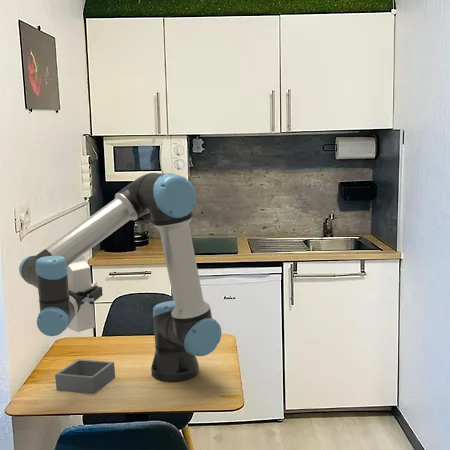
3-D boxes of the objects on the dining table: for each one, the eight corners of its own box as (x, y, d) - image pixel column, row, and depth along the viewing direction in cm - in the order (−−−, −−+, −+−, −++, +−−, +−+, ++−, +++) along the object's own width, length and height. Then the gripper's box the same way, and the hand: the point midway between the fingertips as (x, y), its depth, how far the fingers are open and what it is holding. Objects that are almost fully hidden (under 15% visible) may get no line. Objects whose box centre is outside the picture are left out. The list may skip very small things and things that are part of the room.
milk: (95, 327, 190) (90, 256, 187) (77, 332, 186) (71, 260, 183) (85, 323, 194) (79, 254, 191) (67, 328, 190) (61, 257, 187)
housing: (115, 377, 197) (114, 362, 196) (94, 394, 185) (92, 378, 184) (79, 373, 201) (78, 359, 200) (56, 390, 189) (55, 374, 188)
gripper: (27, 322, 170) (48, 299, 193) (104, 317, 171) (116, 296, 193) (24, 295, 169) (45, 276, 192) (102, 291, 170) (114, 272, 192)
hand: (81, 286), depth 192 cm, fingers closed on milk, 8 cm apart
